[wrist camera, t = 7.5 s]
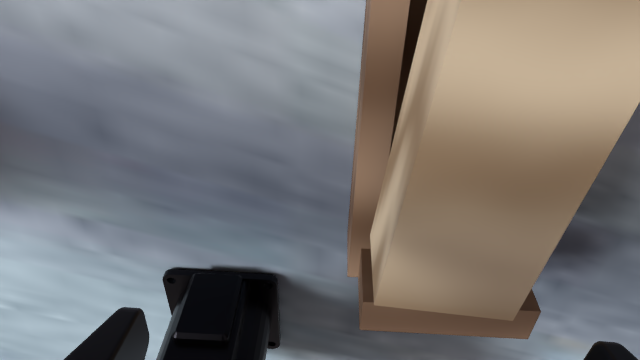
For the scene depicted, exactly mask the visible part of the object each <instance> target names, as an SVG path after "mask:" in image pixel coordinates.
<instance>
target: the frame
mask: <svg viewBox="0 0 640 360" xmlns="http://www.w3.org/2000/svg"><path fill="white" fill-rule="evenodd" d="M426 4H427V0H366V9H365V22H364V34H363V47H362V59H361V72H360V84H359V96H358V109H357V121H356V134H355V146H354V159H353V171H352V184H351V196H350V209H349V221H348V277H358V287H359V328H360V330H371V331H389V332H407V333H425V334H443V335H462V336H480V337H498V338H516V339H528V338H529V336H530V334H531V331H532V329H533V327H534V325H535V323H536V321H537V319H538V317H539V315H540V313H541V310H540V308H539V306H538V303H537V301H536V298H535V296H534V293H533V291H532V289H531V290H530V292H529V294H528V296H527V297H526V299H525V301H524V303H523V304H522V306H521V308H520V309H519V311H518V313H517V315H516V316H515V318H514V320H513V321H509V320H500V319H491V318H483V317H474V316H465V315H456V314H447V313H439V312H430V311H421V310H412V309H403V308H394V307H386V306H377V305H374V296H373V278H372V261H371V243H370V233H371V229H372V225H373V221H374V217H375V213H376V209H377V205H378V201H379V197H380V192H381V188H382V184H383V180H384V176H385V172H386V168H387V164H388V160H389V156H390V152H391V148H392V143H393V139H394V135H395V131H396V127H397V123H398V119H399V115H400V111H401V107H402V103H403V98H404V94H405V90H406V86H407V82H408V78H409V74H410V70H411V66H412V62H413V58H414V53H415V49H416V45H417V41H418V37H419V33H420V29H421V25H422V21H423V17H424V13H425V9H426Z"/></svg>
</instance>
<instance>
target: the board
mask: <svg viewBox="0 0 640 360" xmlns="http://www.w3.org/2000/svg"><path fill="white" fill-rule="evenodd" d="M639 102H640V0H427V4H426V9H425V13H424V17H423V21H422V25H421V29H420V33H419V37H418V41H417V45H416V49H415V53H414V58H413V62H412V66H411V70H410V74H409V78H408V82H407V86H406V90H405V94H404V98H403V103H402V107H401V111H400V115H399V119H398V123H397V127H396V131H395V135H394V139H393V143H392V148H391V152H390V156H389V160H388V164H387V168H386V172H385V176H384V180H383V184H382V188H381V192H380V197H379V201H378V205H377V209H376V213H375V217H374V221H373V225H372V229H371V233H370V243H371V261H372V278H373V296H374V305H377V306H386V307H394V308H403V309H412V310H421V311H430V312H439V313H447V314H456V315H465V316H474V317H483V318H491V319H500V320H509V321H513V320H514V318H515V316H516V315H517V313H518V311H519V309H520V308H521V306H522V304H523V303H524V301H525V299H526V297H527V296H528V294H529V292H530V290H531V289H532V287H533V285H534V284H535V282H536V280H537V278H538V277H539V275H540V273H541V271H542V270H543V268H544V266H545V265H546V263H547V261H548V259H549V258H550V256H551V254H552V252H553V251H554V249H555V247H556V246H557V244H558V242H559V240H560V239H561V237H562V235H563V234H564V232H565V230H566V228H567V227H568V225H569V223H570V221H571V220H572V218H573V216H574V215H575V213H576V211H577V209H578V208H579V206H580V204H581V202H582V201H583V199H584V197H585V196H586V194H587V192H588V190H589V189H590V187H591V185H592V184H593V182H594V180H595V178H596V177H597V175H598V173H599V171H600V170H601V168H602V166H603V165H604V163H605V161H606V159H607V158H608V156H609V154H610V152H611V151H612V149H613V147H614V146H615V144H616V142H617V140H618V139H619V137H620V135H621V133H622V132H623V130H624V128H625V127H626V125H627V123H628V121H629V120H630V118H631V116H632V115H633V113H634V111H635V109H636V108H637V106H638V104H639Z"/></svg>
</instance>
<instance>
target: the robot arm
mask: <svg viewBox="0 0 640 360" xmlns="http://www.w3.org/2000/svg"><path fill="white" fill-rule="evenodd" d="M163 283H164V287H165V291H166V295H167V299H168V303H169V307H170V310H171V314H172V318H171V321H170V323H169V326H168V329H167V331H166V334H165V337H164V340H163V342H162V345H161V348H160V351H159V353H158V356H157V359H156V360H265V359H266V352H267V348H269V349H275V348H278V347H279V345H280V319H279V296H278V280H277V278H276V277H275V276H273V275H270V274H253V273H234V272H215V271H196V270H177V269H169V270H167V271H166V272H165V274H164V276H163ZM148 344H149V331H148V327H147V323H146V319H145V316H144V312H143V311H142V310H141V309H140V308H128V307H123V308H120V309H118V310H117V311H116V312H115V313H114V314H113V315H112V316H111V317H109V318H108V319H107V320H106V321H105V322H104V323H103V324H102V325H101V326H100V327H99V328H98V329H96V330H95V331H94V332H93V333H92V334H91V335H90V336H89V337H88V338H87V339H86V340H84V341H83V342H82V343H81V344H80V345H79V346H78V347H77V348H76V349H75V350H74V351H73V352H71V353H70V354H69V355H68V356H67V357H66V358H65V359H64V360H144V359H145V356H146V352H147V348H148ZM584 360H638V359H637V358H636V357H635V356H634V355H633V354H631V353H630V352H629V351H628V350H627V349H626V348H625V347H624V346H622V345H621V344H619V343H615V342H603V341H598V342H596V343H595V344H594V345H593V346H592V348H591V349H590V351H589V352H588V354H587V355H586V357H585V358H584Z"/></svg>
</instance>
